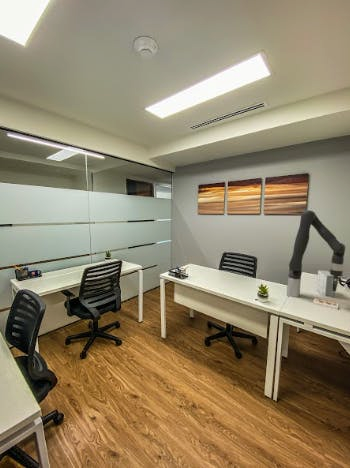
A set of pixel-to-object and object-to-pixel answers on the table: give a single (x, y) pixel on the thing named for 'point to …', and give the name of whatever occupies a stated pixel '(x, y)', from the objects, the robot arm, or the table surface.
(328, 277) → the hard drive box
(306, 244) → the robot arm
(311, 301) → the power strip
